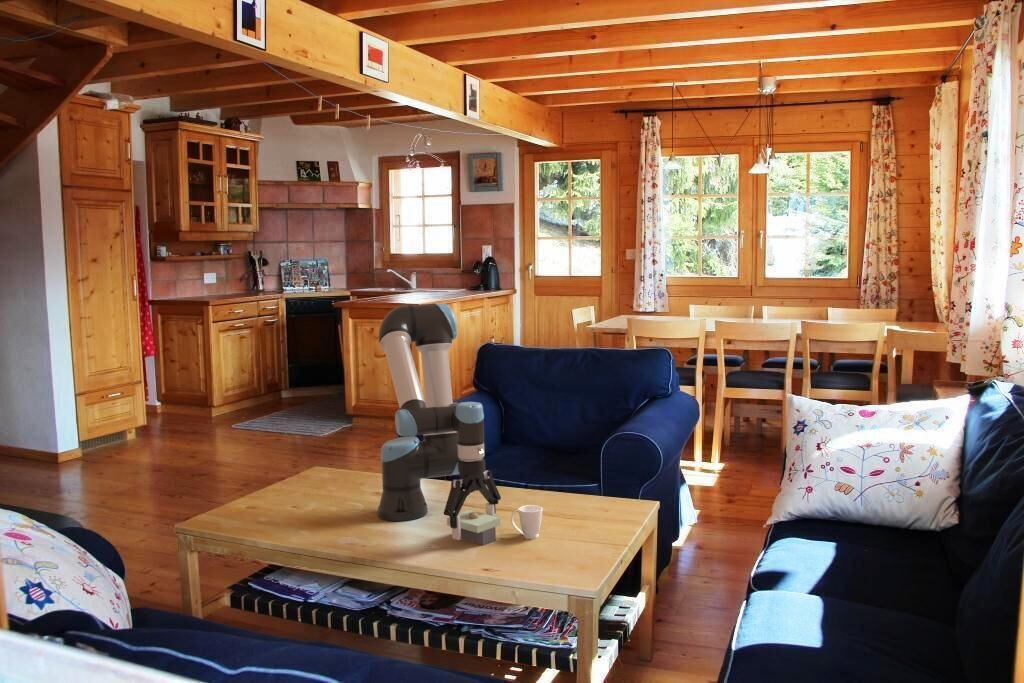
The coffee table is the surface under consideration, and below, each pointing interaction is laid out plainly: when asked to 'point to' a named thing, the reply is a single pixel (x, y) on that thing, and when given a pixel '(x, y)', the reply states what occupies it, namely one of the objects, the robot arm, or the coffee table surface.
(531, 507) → the cup
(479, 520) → the lid
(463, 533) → the block
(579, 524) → the coffee table surface
